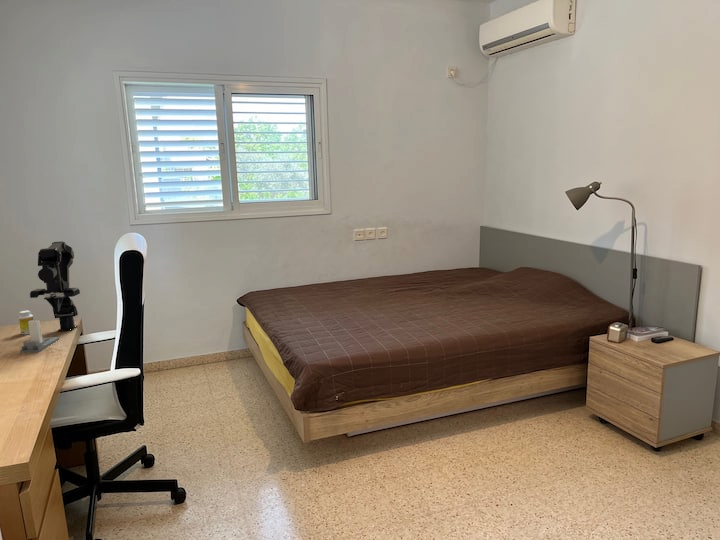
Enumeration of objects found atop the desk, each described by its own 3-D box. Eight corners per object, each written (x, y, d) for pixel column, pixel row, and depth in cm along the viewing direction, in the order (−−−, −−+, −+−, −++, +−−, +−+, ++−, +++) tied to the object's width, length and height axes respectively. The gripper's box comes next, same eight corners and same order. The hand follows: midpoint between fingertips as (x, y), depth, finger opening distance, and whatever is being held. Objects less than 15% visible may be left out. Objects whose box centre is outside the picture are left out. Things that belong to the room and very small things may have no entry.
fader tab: (36, 343, 213) (32, 319, 211) (44, 343, 213) (41, 319, 211) (30, 346, 208) (26, 322, 206) (38, 346, 208) (34, 322, 206)
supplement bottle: (36, 333, 231) (32, 311, 229) (21, 335, 228) (18, 313, 226) (34, 330, 236) (31, 309, 234) (20, 332, 232) (16, 311, 230)
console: (43, 340, 220) (42, 331, 220) (59, 339, 221) (58, 330, 220) (20, 353, 205) (18, 343, 204) (38, 352, 205) (36, 343, 204)
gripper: (83, 272, 226) (88, 306, 229) (41, 273, 226) (46, 307, 229) (70, 277, 216) (75, 313, 219) (26, 279, 215) (31, 314, 218)
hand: (57, 311), depth 221 cm, fingers closed
